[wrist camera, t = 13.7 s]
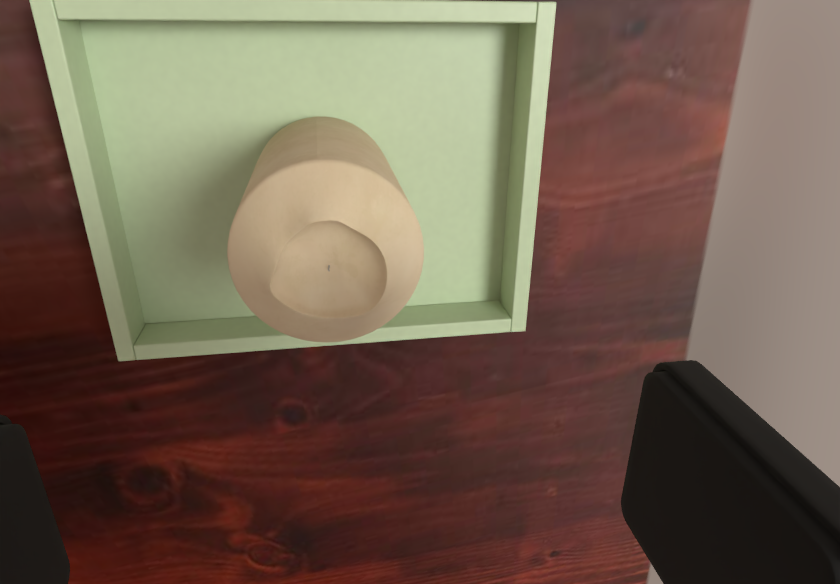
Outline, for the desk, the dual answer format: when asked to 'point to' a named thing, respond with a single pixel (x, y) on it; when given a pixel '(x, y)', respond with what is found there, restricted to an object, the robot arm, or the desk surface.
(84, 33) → the tray
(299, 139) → the candle
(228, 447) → the desk surface
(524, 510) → the desk surface
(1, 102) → the desk surface
